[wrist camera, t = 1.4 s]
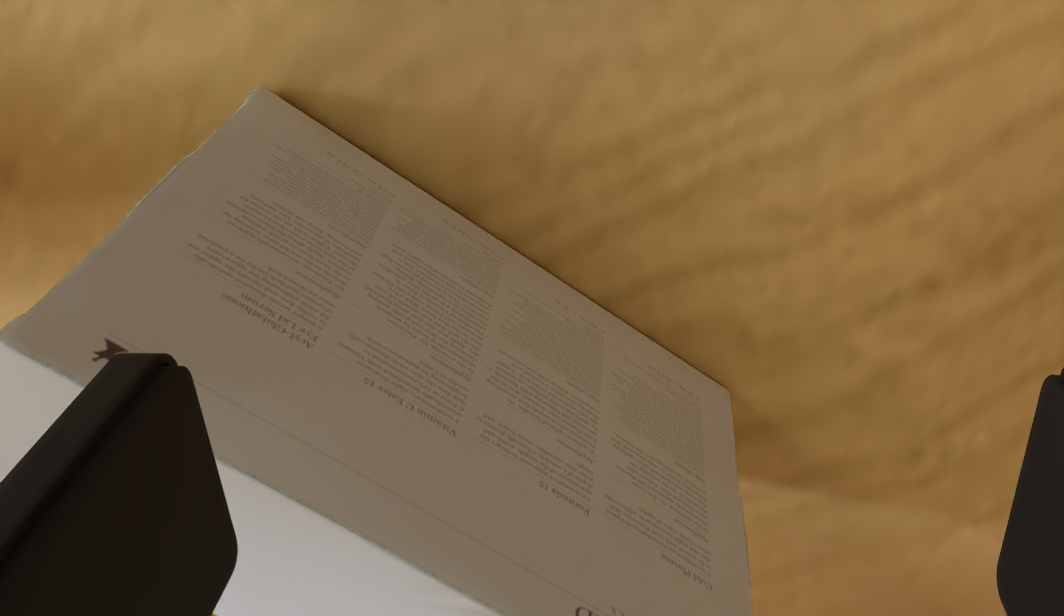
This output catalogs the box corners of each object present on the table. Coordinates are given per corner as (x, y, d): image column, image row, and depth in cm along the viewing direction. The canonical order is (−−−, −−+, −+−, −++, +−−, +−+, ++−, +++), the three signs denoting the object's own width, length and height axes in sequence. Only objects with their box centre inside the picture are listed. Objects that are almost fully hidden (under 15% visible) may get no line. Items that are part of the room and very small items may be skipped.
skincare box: (196, 196, 35) (-83, 474, 22) (260, 79, 33) (-8, 308, 19) (649, 477, 40) (657, 854, 26) (736, 392, 37) (794, 760, 24)
